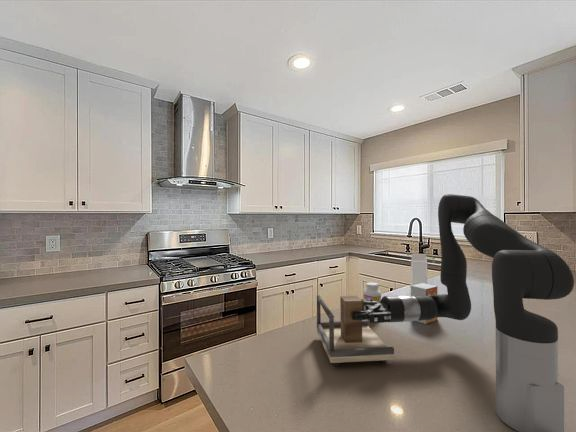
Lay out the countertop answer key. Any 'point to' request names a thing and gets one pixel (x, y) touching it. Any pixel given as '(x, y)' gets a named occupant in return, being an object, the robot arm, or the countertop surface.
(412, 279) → the milk
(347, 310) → the walnut block
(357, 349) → the cart
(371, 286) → the supplement bottle
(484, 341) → the countertop surface
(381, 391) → the countertop surface
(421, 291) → the small box
